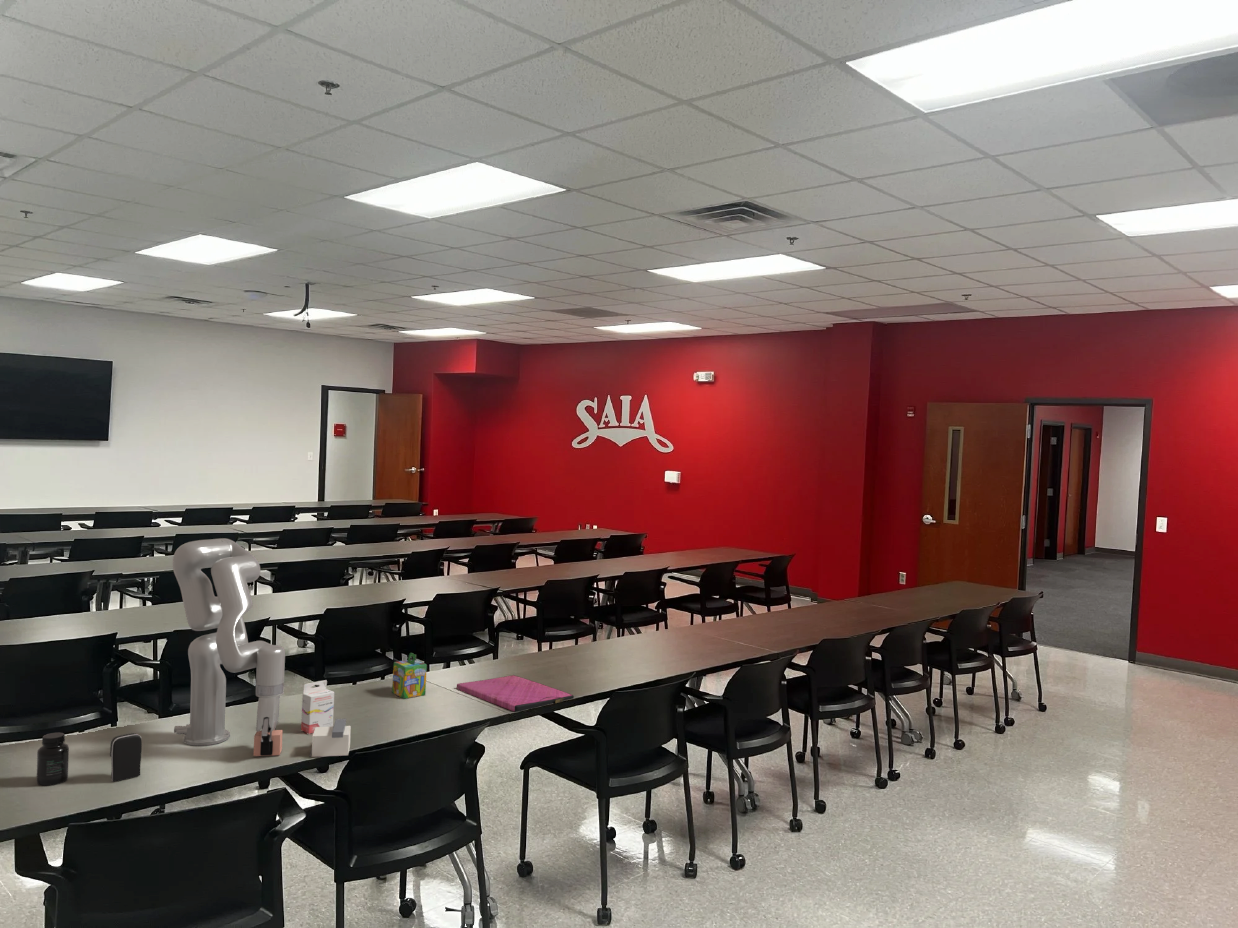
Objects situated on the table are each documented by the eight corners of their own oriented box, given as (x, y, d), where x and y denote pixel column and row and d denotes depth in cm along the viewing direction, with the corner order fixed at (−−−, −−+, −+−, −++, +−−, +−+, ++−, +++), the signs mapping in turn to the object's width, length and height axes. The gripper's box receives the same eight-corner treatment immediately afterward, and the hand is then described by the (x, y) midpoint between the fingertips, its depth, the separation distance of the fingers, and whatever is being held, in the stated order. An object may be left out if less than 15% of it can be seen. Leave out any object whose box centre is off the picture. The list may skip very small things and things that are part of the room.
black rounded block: (136, 772, 228) (138, 730, 228) (141, 776, 225) (142, 733, 225) (107, 778, 223) (108, 735, 223) (112, 783, 220) (113, 739, 220)
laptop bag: (456, 679, 317) (513, 669, 336) (455, 690, 317) (513, 679, 336) (522, 704, 289) (581, 692, 308) (522, 716, 289) (580, 703, 308)
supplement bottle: (37, 778, 221) (38, 733, 221) (68, 774, 225) (69, 729, 224) (35, 788, 215) (36, 741, 215) (67, 783, 219) (68, 737, 219)
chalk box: (391, 693, 308) (392, 652, 308) (414, 689, 314) (415, 649, 314) (403, 699, 301) (404, 658, 301) (426, 695, 307) (427, 654, 307)
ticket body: (308, 759, 242) (309, 733, 242) (313, 744, 253) (314, 719, 253) (347, 757, 244) (348, 731, 244) (350, 743, 256) (351, 718, 256)
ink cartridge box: (309, 734, 262) (310, 687, 262) (300, 730, 265) (302, 684, 265) (333, 728, 269) (335, 682, 268) (325, 724, 272) (326, 678, 271)
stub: (253, 756, 242) (254, 736, 242) (256, 750, 246) (257, 730, 246) (279, 754, 243) (280, 734, 243) (281, 749, 248) (282, 729, 248)
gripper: (261, 681, 252) (259, 741, 252) (250, 698, 235) (248, 762, 236) (287, 680, 253) (285, 740, 254) (279, 697, 237) (277, 761, 237)
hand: (267, 750), depth 245 cm, fingers closed on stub, 4 cm apart
